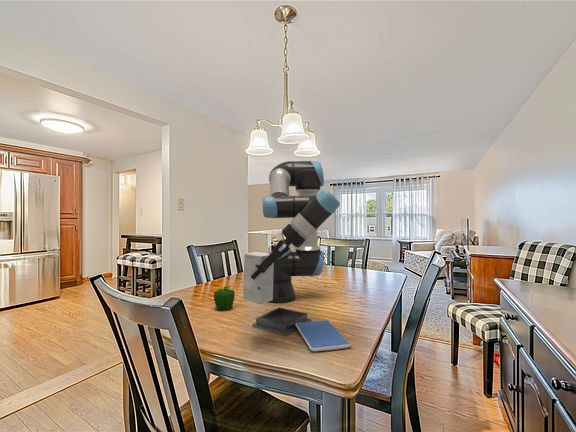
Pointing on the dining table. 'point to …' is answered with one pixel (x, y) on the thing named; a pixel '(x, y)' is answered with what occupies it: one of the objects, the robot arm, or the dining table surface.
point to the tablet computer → (322, 336)
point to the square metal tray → (280, 321)
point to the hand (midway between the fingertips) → (248, 281)
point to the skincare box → (264, 284)
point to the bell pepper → (224, 298)
